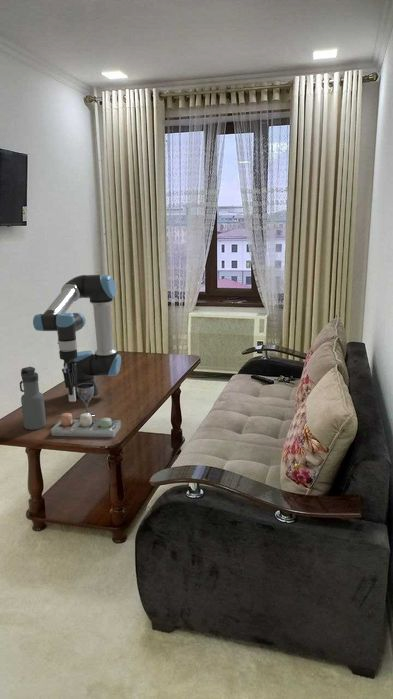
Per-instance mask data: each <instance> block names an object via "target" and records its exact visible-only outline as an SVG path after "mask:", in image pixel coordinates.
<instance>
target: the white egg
mask: <svg viewBox="0 0 393 699" xmlns="http://www.w3.org/2000/svg"><path fill="white" fill-rule="evenodd" d="M83 413H84V414H83ZM83 413H81V414H80V415H79V419H80V423H81V427H91V426H92V420H93V419H92V417H91V414H90V413H86V412H83Z"/></svg>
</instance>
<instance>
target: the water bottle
mask: <svg viewBox="0 0 393 699" xmlns="http://www.w3.org/2000/svg"><path fill="white" fill-rule="evenodd" d="M20 377H21V381H19V390H20V392H21V393H23V395H21V398H20V402H21V403H20V405H21V410H22V420H23V427H24V428H25V429H26V430H28V429H29V430H28V431H35V430H36V431H37V430H40V429H43V428H44V427H46V425H47V420H46V409H45V407H46V406H45V401H44V400H45V398H44V395H43V393H42V392H40V388H39V373H38V372H36V368H35V367H33V366H26V367H23V368H21V370H20Z"/></svg>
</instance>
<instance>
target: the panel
mask: <svg viewBox="0 0 393 699" xmlns="http://www.w3.org/2000/svg"><path fill="white" fill-rule="evenodd" d="M72 422H73V425H72V426H71V427H62V426H61V419H60V420H59V421H58V422H56V424H54V426H53V427H51V429H50V433H51V437H52V436H53V437H54V436H56V437H82V438H83V437H87V438H88V437H89V438H115V436H116V435H117V433H118V431H119V430H120V429H121V428H122V424H121V423H122V421H121V420H118V419H115V420H114V419H111V422H112V427H111V428H100V419H92V426H91V427H81V423H80V418H78V419H76V418H72Z"/></svg>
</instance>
